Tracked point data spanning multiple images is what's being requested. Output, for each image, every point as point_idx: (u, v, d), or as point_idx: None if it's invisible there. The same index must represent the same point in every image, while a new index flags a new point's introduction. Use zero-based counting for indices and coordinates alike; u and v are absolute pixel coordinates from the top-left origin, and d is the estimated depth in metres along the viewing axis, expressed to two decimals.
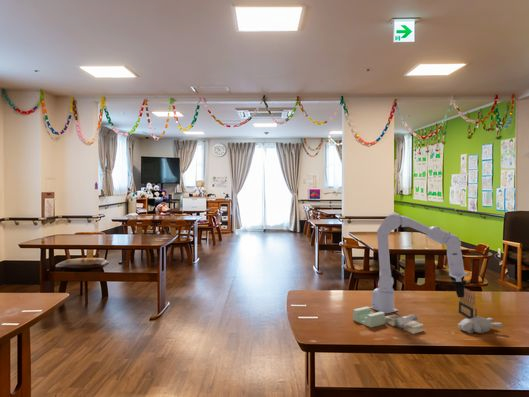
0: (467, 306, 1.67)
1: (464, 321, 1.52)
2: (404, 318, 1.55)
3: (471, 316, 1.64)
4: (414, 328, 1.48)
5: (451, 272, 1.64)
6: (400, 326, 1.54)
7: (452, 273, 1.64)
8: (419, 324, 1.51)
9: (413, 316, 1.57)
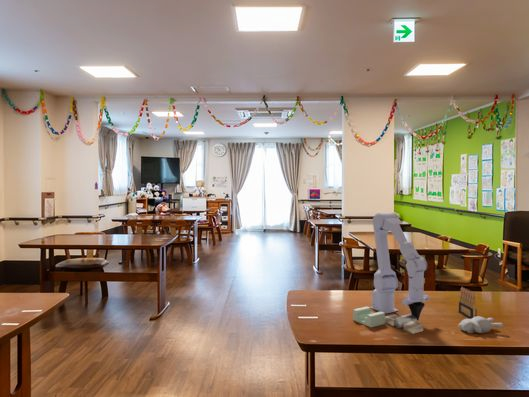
0: (467, 306, 1.67)
1: (464, 321, 1.52)
2: (402, 317, 1.56)
3: (471, 316, 1.64)
4: (414, 328, 1.48)
5: None
6: (399, 325, 1.54)
7: (408, 296, 1.60)
8: (419, 324, 1.51)
9: (411, 315, 1.58)
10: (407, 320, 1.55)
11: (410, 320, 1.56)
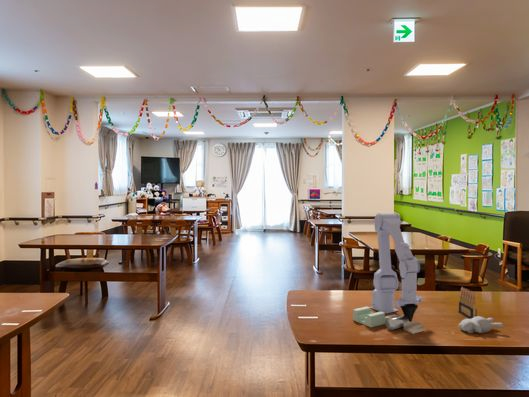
0: (467, 306, 1.66)
1: (464, 321, 1.52)
2: (394, 319, 1.53)
3: (471, 316, 1.64)
4: (414, 328, 1.48)
5: (401, 296, 1.58)
6: (391, 327, 1.52)
7: (401, 297, 1.57)
8: (419, 324, 1.51)
9: (403, 316, 1.56)
10: (399, 322, 1.52)
11: (402, 322, 1.53)
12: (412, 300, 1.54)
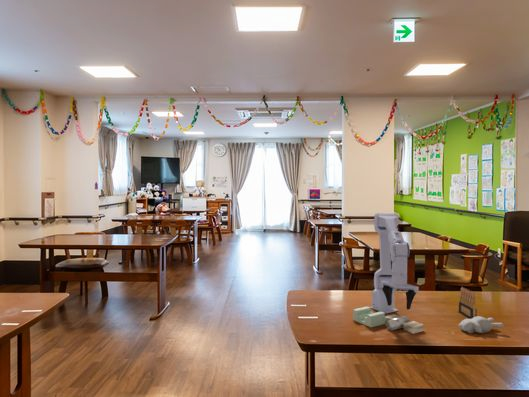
0: (467, 306, 1.67)
1: (465, 321, 1.52)
2: (394, 319, 1.53)
3: (471, 316, 1.64)
4: (414, 328, 1.48)
5: None
6: (391, 328, 1.51)
7: None
8: (419, 324, 1.51)
9: (404, 317, 1.55)
10: (400, 324, 1.52)
11: (403, 323, 1.53)
12: (393, 283, 1.52)
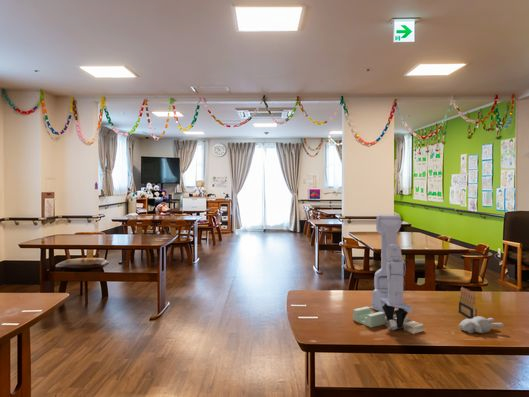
0: (467, 306, 1.67)
1: (465, 321, 1.52)
2: (396, 320, 1.52)
3: (471, 316, 1.64)
4: (414, 328, 1.48)
5: None
6: (392, 328, 1.51)
7: None
8: (419, 324, 1.51)
9: (405, 318, 1.55)
10: None
11: (403, 324, 1.53)
12: (388, 301, 1.52)
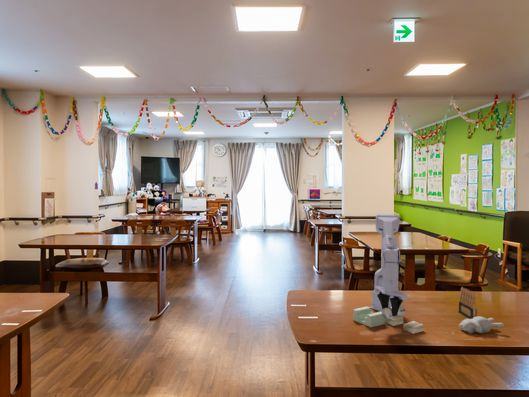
0: (467, 306, 1.67)
1: (465, 321, 1.52)
2: (391, 308, 1.51)
3: (471, 316, 1.64)
4: (414, 328, 1.48)
5: None
6: (387, 316, 1.50)
7: None
8: (419, 324, 1.51)
9: (400, 306, 1.53)
10: None
11: (399, 312, 1.51)
12: (383, 289, 1.51)
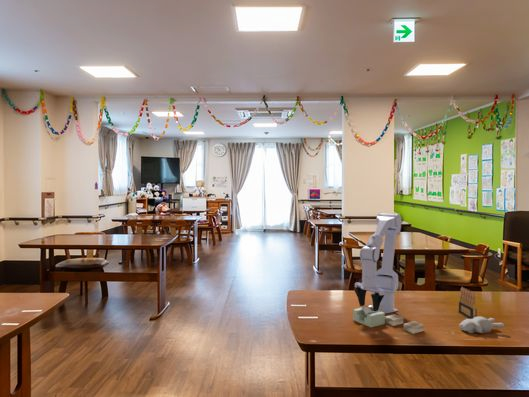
0: (467, 306, 1.67)
1: (465, 321, 1.52)
2: (370, 307, 1.60)
3: (471, 316, 1.64)
4: (414, 328, 1.48)
5: None
6: (366, 314, 1.59)
7: None
8: (419, 324, 1.51)
9: (379, 306, 1.63)
10: (374, 311, 1.60)
11: (377, 311, 1.61)
12: (362, 285, 1.60)
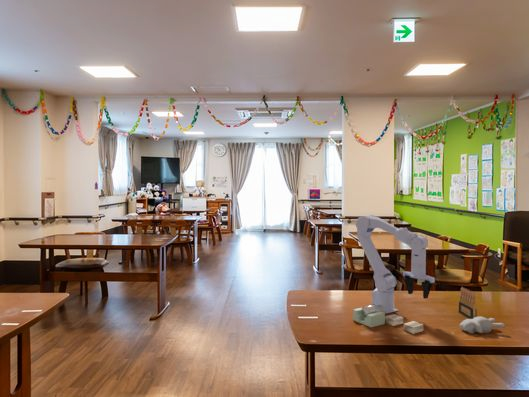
0: (467, 306, 1.67)
1: (466, 321, 1.52)
2: (370, 307, 1.60)
3: (471, 316, 1.64)
4: (414, 328, 1.48)
5: None
6: (366, 314, 1.59)
7: None
8: (419, 324, 1.51)
9: (379, 306, 1.63)
10: (374, 311, 1.60)
11: (377, 311, 1.61)
12: (412, 273, 1.65)
